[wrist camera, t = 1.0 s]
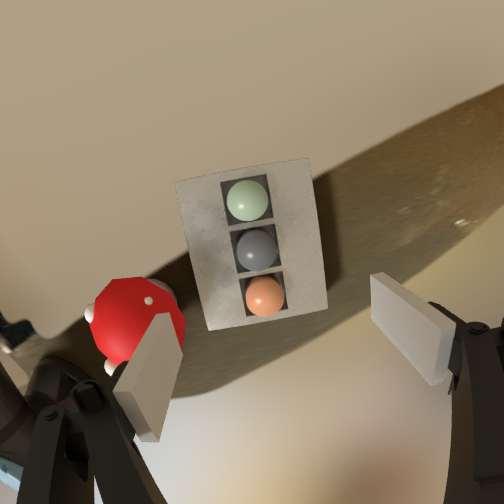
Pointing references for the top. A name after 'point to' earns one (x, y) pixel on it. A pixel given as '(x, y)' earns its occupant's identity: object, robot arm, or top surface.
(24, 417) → the robot arm
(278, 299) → the button terracotta
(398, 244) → the top surface
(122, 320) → the mushroom
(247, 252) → the button charcoal
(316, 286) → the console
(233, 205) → the button sage
